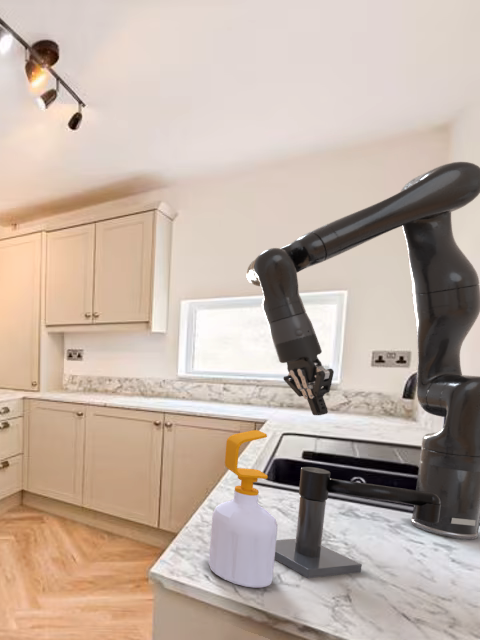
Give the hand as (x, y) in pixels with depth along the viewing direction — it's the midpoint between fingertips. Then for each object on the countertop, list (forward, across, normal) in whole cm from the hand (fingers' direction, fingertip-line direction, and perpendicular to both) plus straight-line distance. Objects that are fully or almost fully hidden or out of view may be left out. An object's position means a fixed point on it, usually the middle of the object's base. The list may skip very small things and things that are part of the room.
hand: (320, 414), depth 91 cm
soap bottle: (+19, -21, +34) cm, 44 cm away
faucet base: (+22, -14, +19) cm, 33 cm away
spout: (+14, -19, +10) cm, 25 cm away
